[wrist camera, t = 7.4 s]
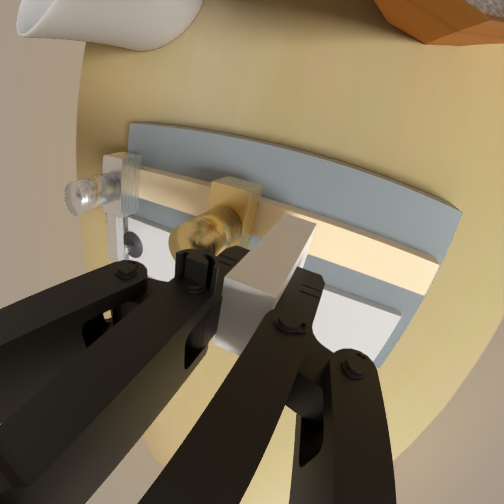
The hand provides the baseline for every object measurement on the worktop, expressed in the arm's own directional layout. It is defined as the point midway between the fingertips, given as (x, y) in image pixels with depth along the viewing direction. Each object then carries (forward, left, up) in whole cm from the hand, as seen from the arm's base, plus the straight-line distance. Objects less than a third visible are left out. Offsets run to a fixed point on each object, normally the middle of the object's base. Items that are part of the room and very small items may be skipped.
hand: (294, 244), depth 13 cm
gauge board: (+2, -3, -5) cm, 6 cm away
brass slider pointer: (+2, -4, -2) cm, 4 cm away
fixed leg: (+2, -12, -2) cm, 12 cm away
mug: (-16, -15, -5) cm, 22 cm away
